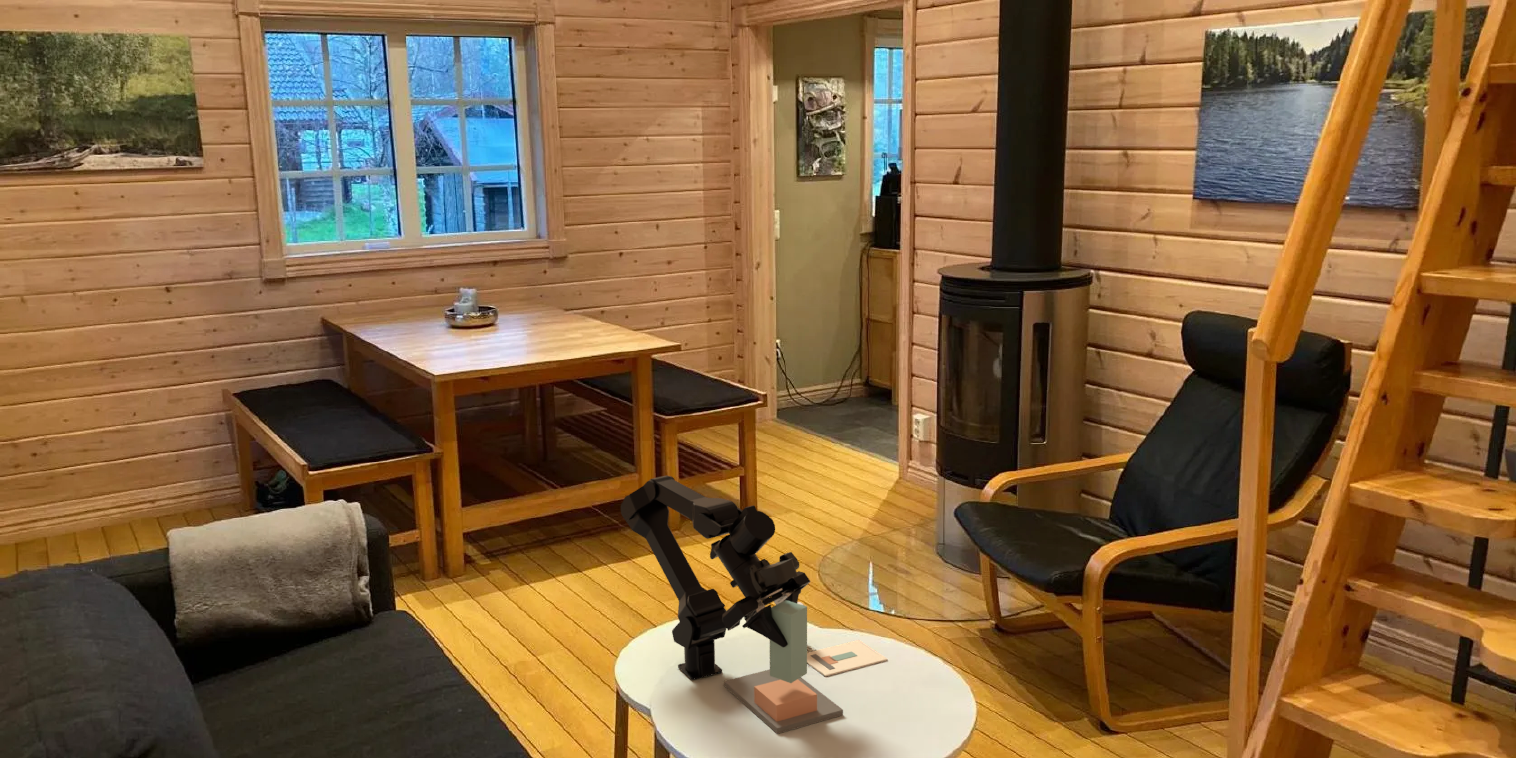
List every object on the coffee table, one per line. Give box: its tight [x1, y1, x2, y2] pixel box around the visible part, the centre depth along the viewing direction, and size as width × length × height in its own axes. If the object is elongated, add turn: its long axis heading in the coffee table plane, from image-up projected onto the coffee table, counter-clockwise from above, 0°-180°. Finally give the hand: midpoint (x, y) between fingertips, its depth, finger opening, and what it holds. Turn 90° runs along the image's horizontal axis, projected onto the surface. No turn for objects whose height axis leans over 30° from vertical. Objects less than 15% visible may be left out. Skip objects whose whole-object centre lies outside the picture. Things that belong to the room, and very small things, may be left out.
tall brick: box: [769, 600, 808, 683], centre depth 198 cm, size 5×5×12 cm
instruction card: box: [807, 639, 888, 677], centre depth 220 cm, size 10×14×1 cm
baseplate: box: [723, 668, 844, 734], centre depth 204 cm, size 20×13×4 cm, turn 28°
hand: (794, 641), depth 197 cm, fingers closed on tall brick, 5 cm apart
